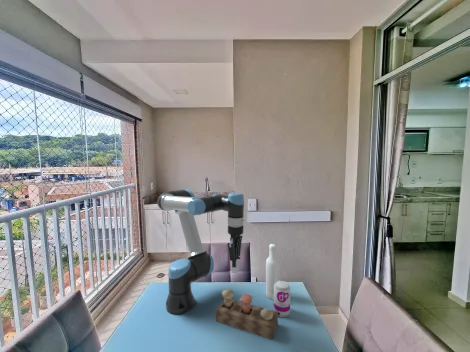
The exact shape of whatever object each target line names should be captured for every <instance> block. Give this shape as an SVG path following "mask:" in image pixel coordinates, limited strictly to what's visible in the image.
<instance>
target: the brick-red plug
mask: <svg viewBox="0 0 470 352" xmlns="http://www.w3.org/2000/svg"><path fill="white" fill-rule="evenodd" d="M240 302H241V303H243V313H244V314H249V313H250V305H251V303H253V296H252V295H251V294H249V293H244V294H242V295H240Z"/></svg>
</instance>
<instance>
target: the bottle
mask: <svg viewBox="0 0 470 352" xmlns="http://www.w3.org/2000/svg"><path fill="white" fill-rule="evenodd" d="M268 248H269V249H268V250H269V253H268V254H269V256H268V257H267V258H266V260H265V296H266V297H267V298H268V299H269V300H272V301H274V284H275V282H276V281H280V260H279V258H278V257H277V256H276V255H277V251H276V249H277V247H276V244H274V243H270V244H269V246H268Z"/></svg>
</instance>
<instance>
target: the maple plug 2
mask: <svg viewBox="0 0 470 352" xmlns="http://www.w3.org/2000/svg"><path fill="white" fill-rule="evenodd" d="M272 311H273V310H272ZM272 311H271V309H268V308H265V309H263V310H262V311H261V318H262V319H263V320H266V321H271V319H272V318H273V312H272Z"/></svg>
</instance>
